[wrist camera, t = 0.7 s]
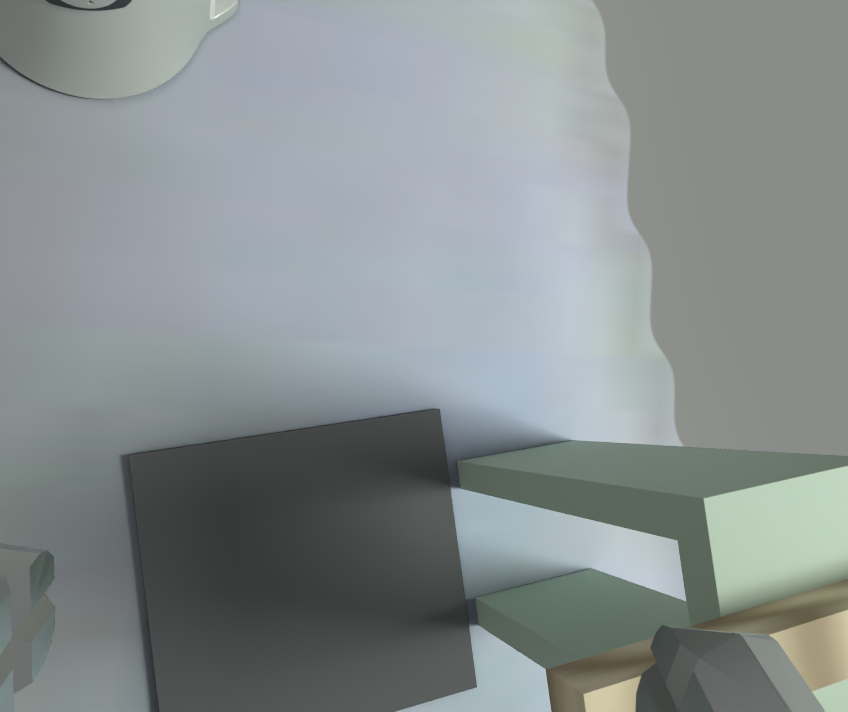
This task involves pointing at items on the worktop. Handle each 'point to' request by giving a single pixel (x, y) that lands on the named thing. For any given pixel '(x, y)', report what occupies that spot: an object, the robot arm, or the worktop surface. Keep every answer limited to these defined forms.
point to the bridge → (676, 519)
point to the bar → (782, 620)
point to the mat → (304, 570)
